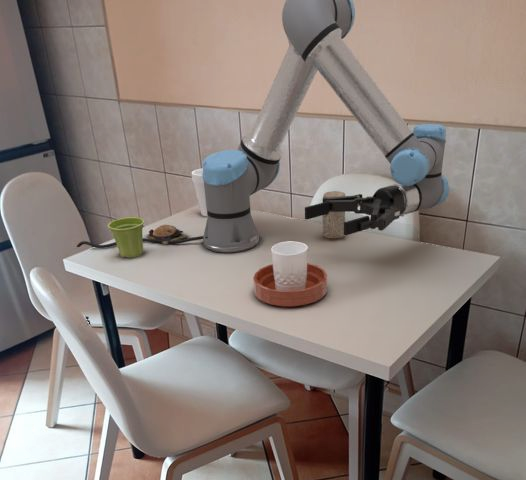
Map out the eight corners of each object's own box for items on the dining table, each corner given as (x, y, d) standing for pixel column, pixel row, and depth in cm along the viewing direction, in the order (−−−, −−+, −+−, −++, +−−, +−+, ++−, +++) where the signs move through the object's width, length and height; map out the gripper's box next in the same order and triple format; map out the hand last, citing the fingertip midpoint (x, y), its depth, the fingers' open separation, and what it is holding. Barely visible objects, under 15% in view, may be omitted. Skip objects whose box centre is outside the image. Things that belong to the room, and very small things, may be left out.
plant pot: (119, 263, 149) (112, 231, 144) (110, 252, 156) (103, 221, 152) (153, 255, 152) (148, 224, 148) (143, 245, 160) (137, 214, 155)
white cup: (313, 293, 126) (313, 251, 121) (279, 300, 124) (277, 257, 119) (301, 280, 133) (300, 239, 127) (268, 286, 131) (266, 244, 126)
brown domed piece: (189, 238, 163) (188, 225, 161) (163, 246, 158) (162, 233, 156) (170, 229, 170) (168, 217, 168) (145, 236, 166) (143, 224, 164)
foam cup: (221, 218, 176) (217, 175, 169) (192, 217, 178) (187, 175, 171) (229, 208, 184) (225, 167, 177) (201, 208, 186) (196, 167, 179)
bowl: (242, 301, 126) (240, 285, 124) (273, 273, 138) (272, 258, 136) (310, 313, 119) (310, 296, 117) (337, 283, 132) (337, 266, 130)
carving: (345, 232, 160) (346, 189, 154) (345, 241, 154) (346, 197, 147) (323, 232, 161) (323, 189, 155) (321, 241, 155) (321, 197, 148)
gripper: (433, 230, 128) (362, 253, 119) (358, 204, 147) (291, 223, 137) (437, 197, 125) (364, 218, 115) (359, 175, 143) (290, 191, 133)
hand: (324, 221), depth 126 cm, fingers open, 13 cm apart
